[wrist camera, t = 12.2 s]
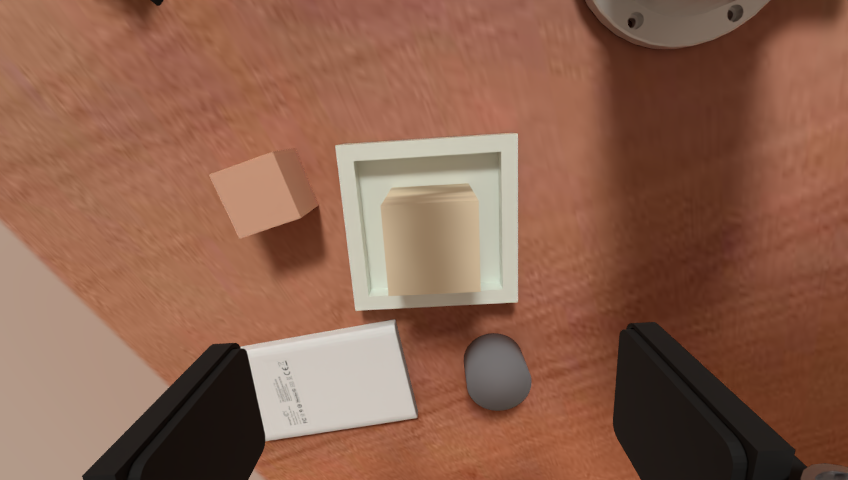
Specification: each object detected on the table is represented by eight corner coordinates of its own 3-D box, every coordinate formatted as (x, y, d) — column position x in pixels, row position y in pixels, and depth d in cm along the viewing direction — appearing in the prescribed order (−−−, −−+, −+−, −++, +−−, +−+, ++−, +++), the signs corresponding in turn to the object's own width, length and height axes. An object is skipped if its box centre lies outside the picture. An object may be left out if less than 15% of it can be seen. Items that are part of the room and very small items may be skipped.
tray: (512, 132, 26) (517, 133, 24) (512, 291, 29) (517, 302, 27) (341, 143, 26) (335, 145, 25) (360, 299, 29) (355, 310, 28)
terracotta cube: (295, 147, 27) (272, 152, 23) (319, 204, 28) (300, 217, 24) (240, 167, 27) (208, 174, 23) (265, 222, 28) (239, 238, 24)
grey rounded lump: (521, 331, 30) (531, 353, 27) (522, 382, 31) (531, 409, 28) (462, 334, 30) (465, 357, 27) (464, 385, 31) (468, 412, 28)
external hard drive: (418, 405, 33) (271, 429, 33) (396, 315, 30) (238, 343, 31) (417, 420, 31) (263, 444, 32) (394, 325, 29) (228, 355, 30)
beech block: (468, 183, 26) (478, 200, 20) (470, 256, 28) (480, 291, 22) (391, 187, 26) (380, 205, 21) (397, 259, 28) (388, 296, 22)
